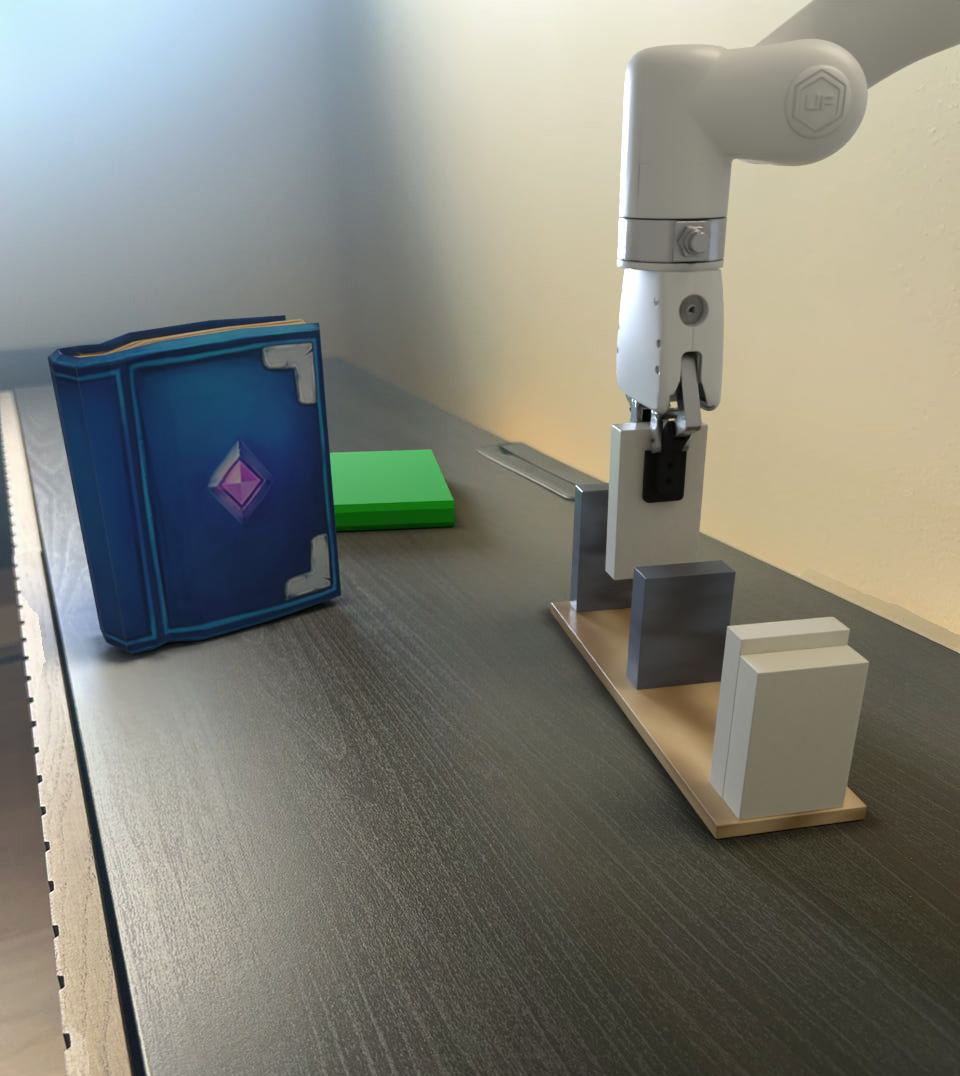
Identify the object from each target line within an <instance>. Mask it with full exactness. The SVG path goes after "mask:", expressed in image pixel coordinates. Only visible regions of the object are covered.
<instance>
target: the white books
mask: <svg viewBox="0 0 960 1076" xmlns="http://www.w3.org/2000/svg"><path fill="white" fill-rule="evenodd" d="M850 632H851V629H850V627H847V626H846V625H845V624H844V623H843V622H841V621H840V620H838V619H837V618H836V617H834V616H823V617H811V618H802V619H801V618H800V619H791V620H790V619H789V620H780V621H769V622H758V623H757V622H756V623H746V624H739V625H738V624H735V625H729V626H727V633H726V642H725V651H724V659H723V668H722V677H721V685H720V694H719V703H718V711H717V720H716V729H715V738H714V746H713V755H712V764H711V772H710V781H709V782H710V784H711V785H712V786H713V788H714V789H715V790H716V791H717V793H718V794H719V795H720V797H721V798H722V799H723V800H724V801H725V803H726V804H727V805H728V807H729V808H730V809H731V810H732V812H733V813H734V814H735V815H736V817H737V818H738V819H739V820H746V819H753V818H761V817H768V816H776V815H784V814H791V813H799V812H806V811H814V810H822V809H829V808H837V807H843V806H844V800H845V794H846V789H847V787H848V784H849V783H848V782H849V776H850V771H851V765H852V762H853V761H852V760H853V755H854V751H855V750H854V749H855V743H856V738H857V732H858V728H859V721H860V715H861V710H862V704H863V699H864V693H865V687H866V683H867V677H868V672H869V666H870V661H869V660H867V658H865V657H864V656H862V655H861V654H860V653H858V652H857V651H856V650H855V649H853V648H852V647H851V646H850V645H848V644H849V639H850Z"/></svg>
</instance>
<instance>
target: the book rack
mask: <svg viewBox="0 0 960 1076" xmlns="http://www.w3.org/2000/svg"><path fill="white" fill-rule="evenodd" d="M608 497H609V482H607V483H603V482H602V483H589V484H587V483H586V484H576V485H575V489H574V512H573V530H572V531H573V533H572V552H571V553H572V554H571V577H570V593H569V594H570V597H569V600H563V601H552V602H550V613H551V615H552V616H553V617H554V618H555V620H556V622H557V624H559V625H560V627H561V628H562V630H563V631H564V632H565V634H566V635H567V636H568V638H569V639H570V641H571V642H572V643H573V644H574V646H575V648H576V649H577V650H578V652H579V653H580V654H581V656H582V658H584V660H585V661H586V663H587V664H588V665H589V667H590V669H591V670H592V671H593V672H594V674H595V675H596V676H597V678H598V679H599V681H600V682H601V683H602V685H603V686H604V687H605V689H606V690H607V692H608V693H609V694H610V696H611V697H612V698H613V700H614V701H615V703H616V704H617V705H618V707H619V708H620V709H621V711H622V712H623V713H624V715H625V716H626V718H627V719H628V720H629V722H630V723H631V724H632V726H633V728H634V729H635V730H636V731H637V733H638V734H639V735H640V737H641V738H642V740H643V741H644V742H645V744H646V745H647V746H648V748H649V750H651V752H652V753H653V754H654V756H655V758H656V759H657V760H658V761H659V763H660V764H661V766H662V767H663V768H664V770H665V772H667V774H668V775H669V777H670V778H671V780H672V781H673V782H674V783H675V785H676V786H677V788H678V789H679V790H680V792H681V793H682V794H683V796H684V798H685V799H686V800H687V802H688V803H689V804H690V806H691V807H692V808H693V810H694V811H695V813H696V814H697V815H698V817H699V818H700V819H701V820H702V822H703V824H704V825H705V826H706V828H707V830H709V832H710V833H711V835H712V836H713V837H714V838H715V840H720V839H726V838H727V839H728V838H734V837H735V838H736V837H741V836H749V835H755V834H756V835H757V834H764V833H772V832H777V831H779V832H780V831H786V830H795V829H801V828H810V827H816V826H822V825H823V826H824V825H829V824H830V825H831V824H837V823H838V824H839V823H846V822H852V821H860V820H865V818H866V812H867V805H866V804H865V802H863V801H862V800H861V799H860V797H858V795H856V793H854V792H853V791H852V790H851V788H850V787H849V786H847V789H846V794H845V800H844V806H843V807H837V808H829V809H822V810H814V811H806V812H799V813H791V814H784V815H776V816H768V817H761V818H753V819H746V820H739V819H738V818H737V817H736V815H735V814H734V813H733V812H732V810H731V809H730V808H729V807H728V805H727V804H726V803H725V801H724V800H723V799H722V798H721V797H720V795H719V794H718V793H717V791H716V790H715V789H714V788H713V786H712V785H711V784H710V782H709V781H710V772H711V764H712V755H713V746H714V738H715V729H716V720H717V711H718V703H719V694H720V685H721V677H722V668H723V659H724V651H725V642H726V633H727V626H731V625H730V624H731V617H732V616H731V615H732V607H733V599H734V589H735V581H736V570H735V569H733V567H731V566H730V565H729V564H728V563H726V562H725V561H724V560H710V561H697V562H693V563H680V564H667V565H654V566H641V567H634V576H633V579H622V580H614V579H613V578H612V577H611V576H610V575H609V574H608V573H607V572H606V571H605V568H606V544H607V521H608Z"/></svg>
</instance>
